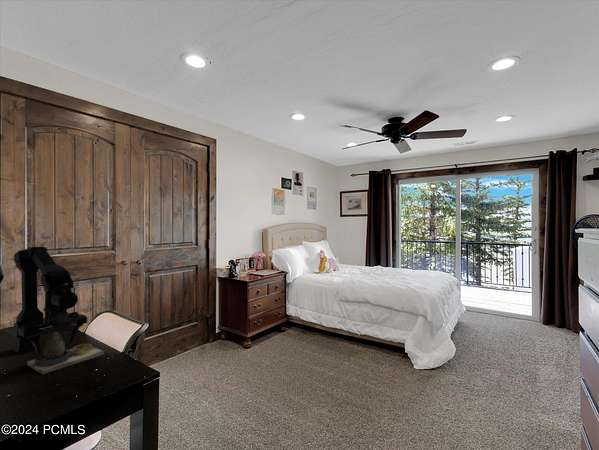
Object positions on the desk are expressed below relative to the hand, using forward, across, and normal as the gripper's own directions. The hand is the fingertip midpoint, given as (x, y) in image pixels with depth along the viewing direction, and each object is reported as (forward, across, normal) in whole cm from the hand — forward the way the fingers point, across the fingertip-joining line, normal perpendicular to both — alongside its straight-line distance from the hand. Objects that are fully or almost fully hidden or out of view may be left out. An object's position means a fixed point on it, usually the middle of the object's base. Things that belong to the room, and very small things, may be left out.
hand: (54, 348), depth 108 cm
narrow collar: (+5, +9, 0) cm, 10 cm away
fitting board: (+5, +4, 0) cm, 7 cm away
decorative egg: (+4, 0, 0) cm, 4 cm away
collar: (+5, 0, 0) cm, 5 cm away
